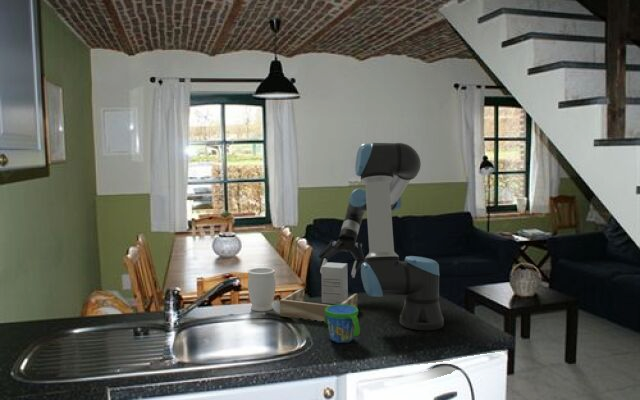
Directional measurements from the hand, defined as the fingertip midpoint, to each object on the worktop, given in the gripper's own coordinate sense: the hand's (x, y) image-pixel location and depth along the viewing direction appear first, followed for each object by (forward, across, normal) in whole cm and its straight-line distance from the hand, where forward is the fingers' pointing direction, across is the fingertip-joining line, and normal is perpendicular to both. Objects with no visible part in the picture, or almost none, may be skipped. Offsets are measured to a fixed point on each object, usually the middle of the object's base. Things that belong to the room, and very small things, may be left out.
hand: (336, 274), depth 210 cm
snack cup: (+38, -18, +23) cm, 47 cm away
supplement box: (+9, 0, -6) cm, 11 cm away
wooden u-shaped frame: (+21, 0, +6) cm, 22 cm away
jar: (+23, +22, +8) cm, 33 cm away
